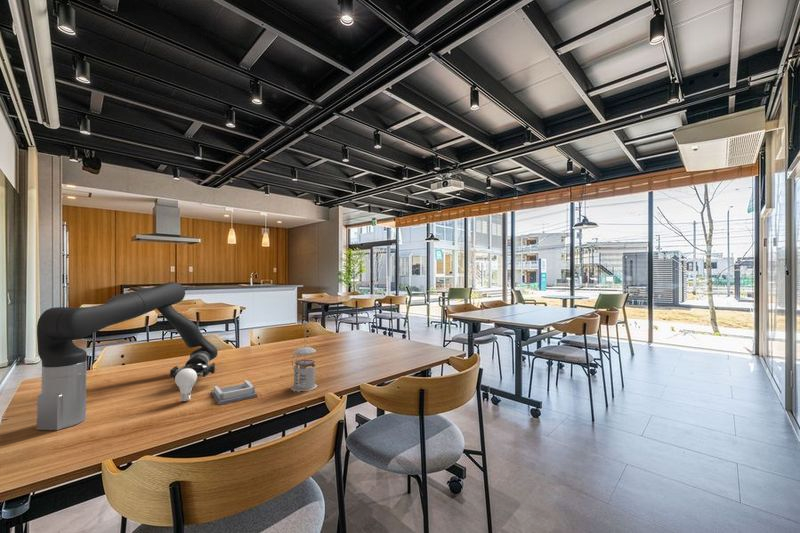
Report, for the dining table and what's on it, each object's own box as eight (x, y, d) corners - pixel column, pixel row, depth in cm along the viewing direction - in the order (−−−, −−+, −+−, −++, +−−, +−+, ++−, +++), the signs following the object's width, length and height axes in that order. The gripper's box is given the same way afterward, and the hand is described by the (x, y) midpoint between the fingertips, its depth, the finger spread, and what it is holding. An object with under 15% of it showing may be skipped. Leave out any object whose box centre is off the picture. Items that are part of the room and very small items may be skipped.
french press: (301, 394, 122) (302, 324, 122) (282, 387, 129) (283, 321, 129) (323, 386, 130) (324, 321, 130) (304, 380, 137) (304, 318, 137)
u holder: (257, 396, 119) (257, 388, 119) (219, 405, 112) (219, 395, 112) (246, 386, 130) (246, 378, 130) (211, 392, 123) (211, 384, 123)
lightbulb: (189, 405, 111) (189, 371, 112) (170, 404, 112) (170, 371, 112) (200, 397, 118) (201, 366, 118) (182, 397, 118) (183, 365, 118)
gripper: (177, 356, 134) (166, 367, 119) (217, 353, 140) (212, 363, 125) (176, 375, 134) (166, 388, 119) (217, 371, 139) (212, 383, 124)
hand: (190, 375), depth 122 cm, fingers open, 8 cm apart
